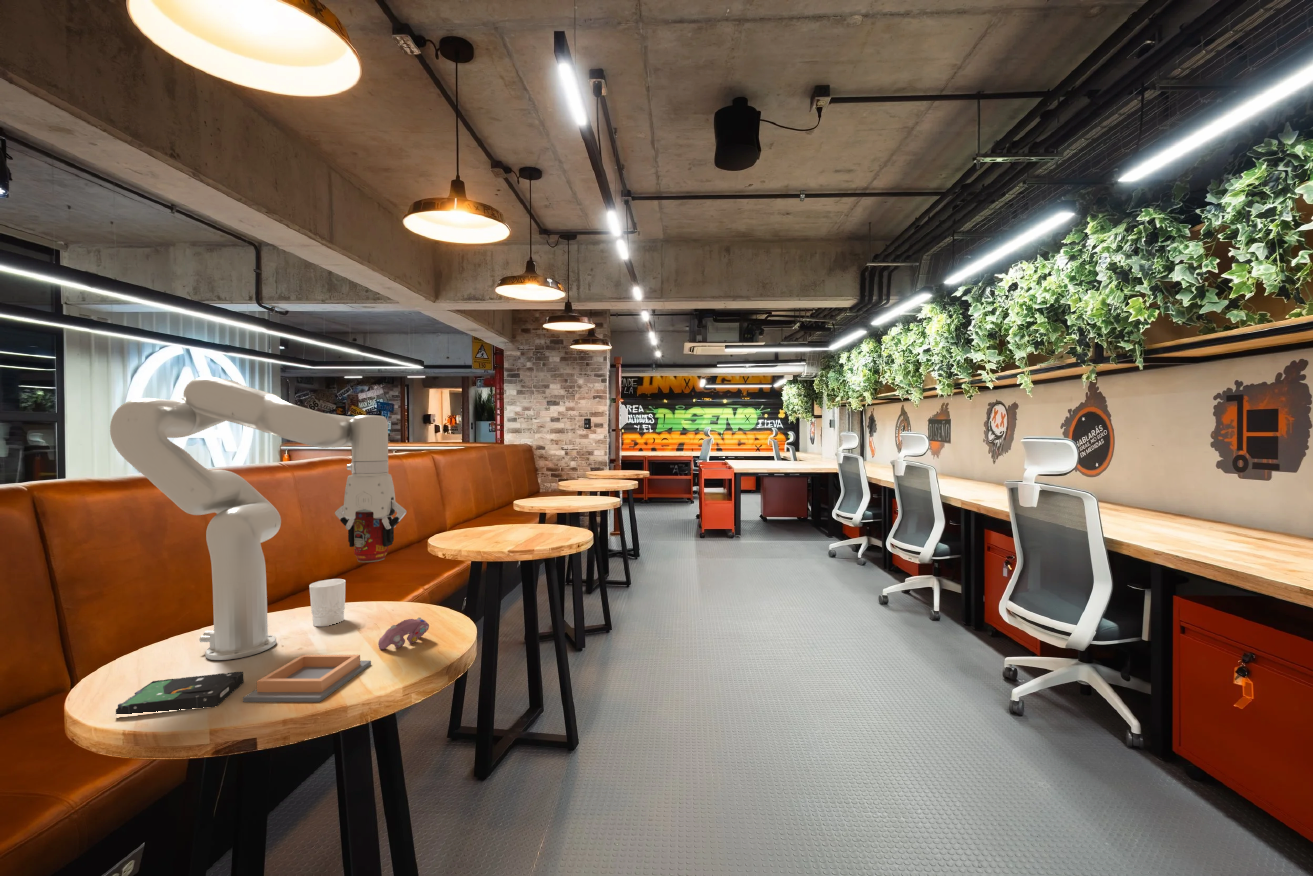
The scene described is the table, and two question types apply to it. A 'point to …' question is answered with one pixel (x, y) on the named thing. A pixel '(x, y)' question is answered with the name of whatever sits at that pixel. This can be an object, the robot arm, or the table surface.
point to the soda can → (368, 537)
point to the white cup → (327, 601)
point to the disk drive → (182, 693)
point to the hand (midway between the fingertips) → (371, 545)
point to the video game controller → (403, 633)
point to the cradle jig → (307, 678)
